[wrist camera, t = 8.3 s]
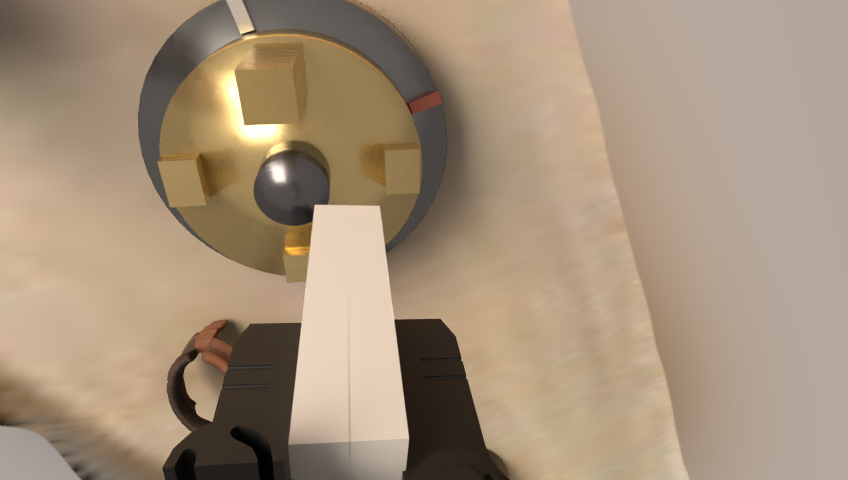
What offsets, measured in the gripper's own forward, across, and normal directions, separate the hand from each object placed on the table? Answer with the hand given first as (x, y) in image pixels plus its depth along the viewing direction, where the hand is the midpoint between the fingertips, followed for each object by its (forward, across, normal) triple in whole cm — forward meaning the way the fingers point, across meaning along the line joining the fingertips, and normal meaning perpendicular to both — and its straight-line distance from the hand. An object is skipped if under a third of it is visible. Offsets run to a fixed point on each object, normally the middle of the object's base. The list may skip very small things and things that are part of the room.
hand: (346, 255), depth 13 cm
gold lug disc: (+21, +3, +6) cm, 22 cm away
